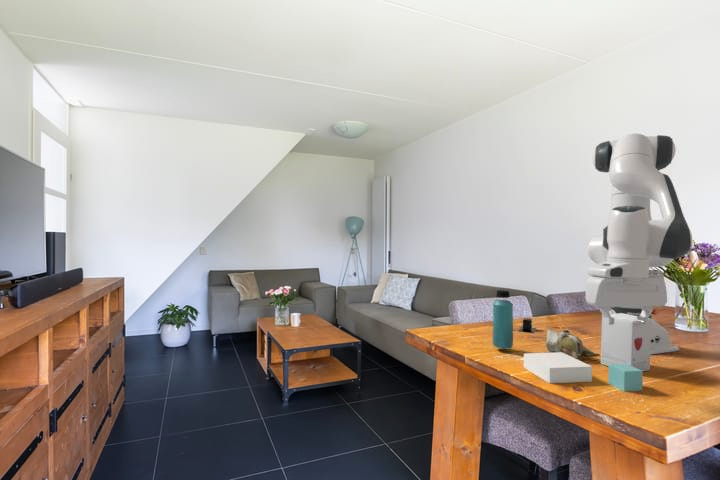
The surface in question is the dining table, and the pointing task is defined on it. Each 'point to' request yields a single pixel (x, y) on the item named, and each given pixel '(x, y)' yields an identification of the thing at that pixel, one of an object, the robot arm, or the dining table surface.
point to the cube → (625, 377)
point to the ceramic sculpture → (567, 344)
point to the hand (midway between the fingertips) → (625, 324)
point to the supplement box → (626, 342)
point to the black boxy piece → (527, 326)
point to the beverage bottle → (503, 321)
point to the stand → (557, 367)
